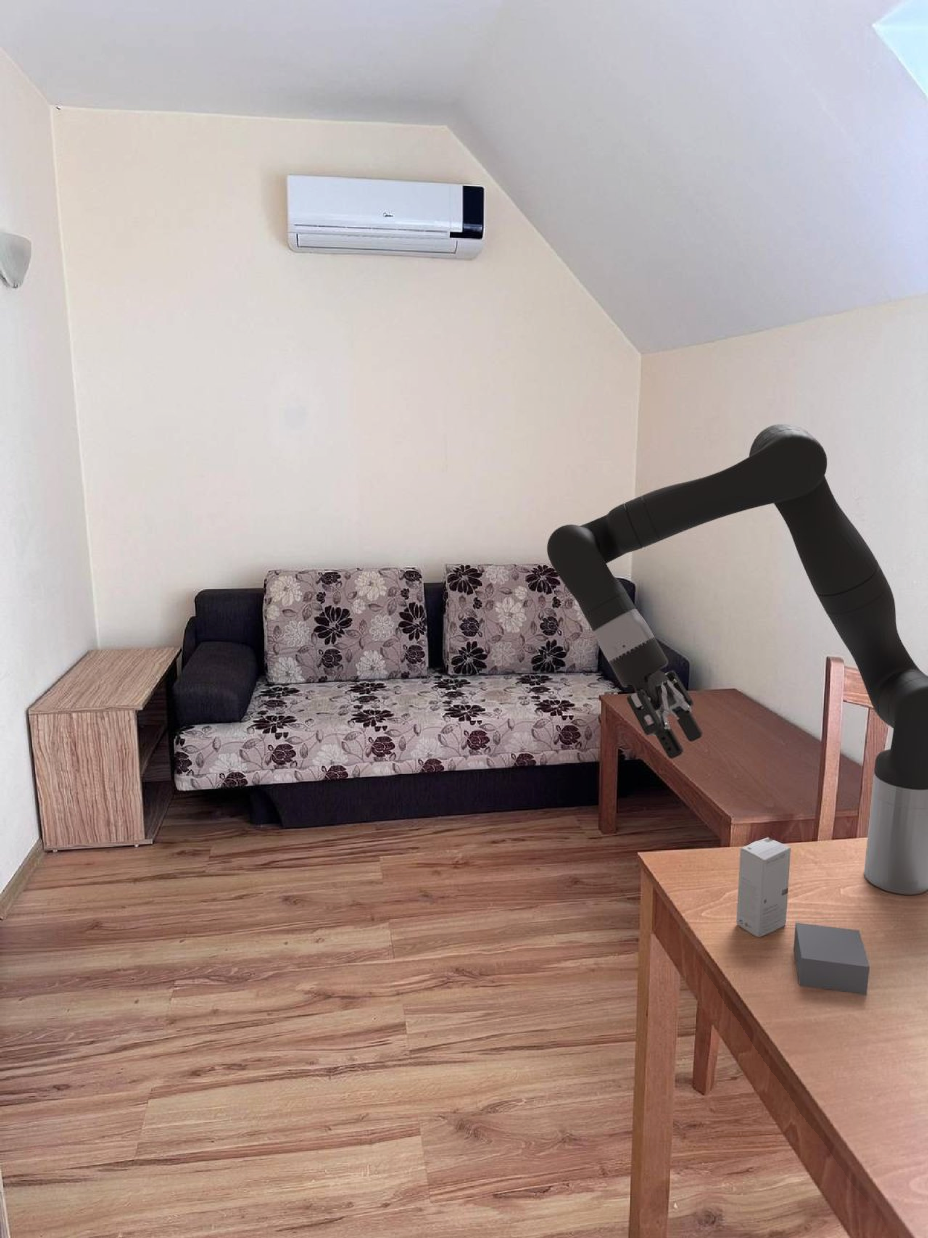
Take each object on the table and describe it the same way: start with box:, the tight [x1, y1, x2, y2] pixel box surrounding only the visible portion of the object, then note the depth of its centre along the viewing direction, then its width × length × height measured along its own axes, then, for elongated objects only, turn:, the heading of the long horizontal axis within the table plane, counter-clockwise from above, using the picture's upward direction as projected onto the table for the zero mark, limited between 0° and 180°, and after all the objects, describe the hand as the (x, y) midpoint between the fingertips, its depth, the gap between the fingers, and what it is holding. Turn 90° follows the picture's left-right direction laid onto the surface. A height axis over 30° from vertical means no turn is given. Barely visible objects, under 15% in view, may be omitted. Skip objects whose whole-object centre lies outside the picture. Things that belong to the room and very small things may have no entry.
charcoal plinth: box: [793, 922, 871, 995], centre depth 116 cm, size 8×8×4 cm
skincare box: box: [736, 837, 792, 938], centre depth 125 cm, size 6×4×12 cm
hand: (687, 747), depth 125 cm, fingers open, 8 cm apart
